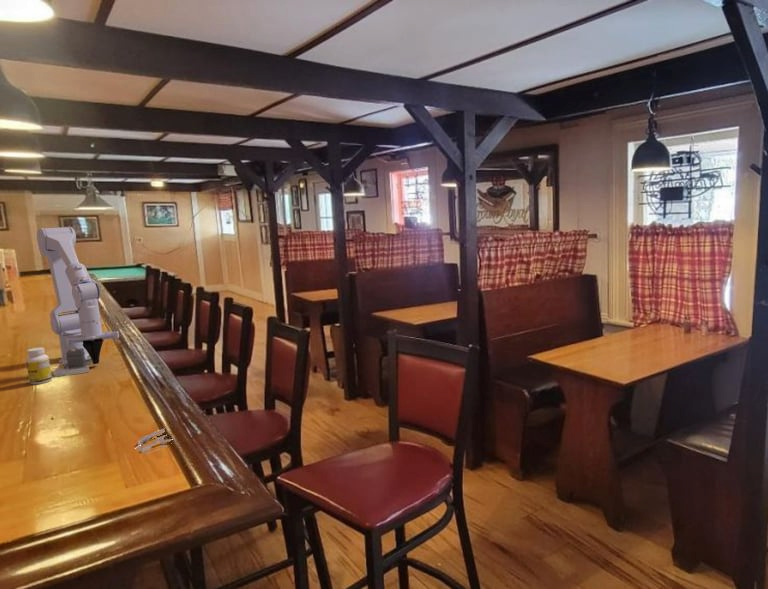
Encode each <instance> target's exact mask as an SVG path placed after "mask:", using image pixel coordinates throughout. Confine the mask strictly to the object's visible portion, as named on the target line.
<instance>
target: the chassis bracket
mask: <svg viewBox="0 0 768 589" xmlns="http://www.w3.org/2000/svg"><path fill="white" fill-rule="evenodd" d="M85 362H86V364H87V365H86V366H82V367H75V368H68V362H67V361H63V362H60V364H59V365H58V366H57V368H55V370H54V371H53V377H54V378H57V377H59V378H60V377H65V376H71V375H72V376H73V375H78V374H87V373H90V371H89V370H90V365H94V364H93V361H92V359H91V357H87V358H85ZM86 372H87V373H86Z"/></svg>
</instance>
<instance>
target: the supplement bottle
mask: <svg viewBox="0 0 768 589" xmlns="http://www.w3.org/2000/svg"><path fill="white" fill-rule="evenodd" d="M45 351H46V350H45V348H44V347H41V346H40V347H33V348H30V349H27V355H28V356H29V357H27V358H26V360H25V361H26V368H27V374H28V380H29V383H30V385H42V384H47V383H49V382H51V381H52V380H53V377H52V370H51V364H50V357H49V355H47V354H45V353H46V352H45Z"/></svg>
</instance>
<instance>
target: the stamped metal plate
mask: <svg viewBox="0 0 768 589" xmlns="http://www.w3.org/2000/svg"><path fill="white" fill-rule="evenodd" d="M165 428H166V427H165ZM165 428H164V427H163V428H162V429H159V430H157V431H154V432H151V433H149V434H147V435H144V436H142V437H141V438H140V439H139V440H137V446H136V447H135V448H134V449H135V450H137V451H139V452H141V453H143V454H145V455H149V454H151V453H154V452H157V451H159V450H161V449H163V448H166V447H167V445H166V444H165V442H167V443H169V442H170V441H171V440H173V439H164V437H165V436H167V434H166V435H162V436H160V437H158V438H156V439H154V442H153V443H150V444H147V443H149V442H150V441H152V440H151V439H152V438H153V437H154V436H157V435H159V434H162V433H164V432H165V430H164V429H165ZM159 440H160V441H159ZM157 444H160V448H157V449H155V450H153V451H150V452H147V451H149V450H151V449H152V446H155V445H157ZM144 445H145V446H144Z"/></svg>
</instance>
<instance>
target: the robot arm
mask: <svg viewBox="0 0 768 589" xmlns="http://www.w3.org/2000/svg"><path fill="white" fill-rule="evenodd" d="M36 240H37V241H36V242H37V245H38V251H39V252H40V255H43V256H44V257H46V260H47V262H48V266H49V271H50V274H51V279H52V284H53V288H54V294H55V297H56V301H57V302H56V303H57V305H56V306H55V307H54V308H53V309H52V310H51V311H50V313H49V316H50V322H49V323H50V327H51V328H50V329H51V331H52V332H53V333H54V334H55V335H58V339H59V344H60V345H59V346H60V351H61V352H60V353H61V358H60V359H59V361H58V363H62V362H63V361H67V360H66V358H67V355H66V353H67V351H68V350H71V349H72V348H77V349H81V348H83V349H84V352H85V354H84V355H85V358H91V359H92V361H93V364H92V365H96V364H97V365H99V363H100V354H101V349H102V347H103V343H104V341H105V340H110V339H111V340H112V339H119V338H120V335H119V330H118V331H103V327H102V319H101V313H100V307H99V299H100V298H101V289H100V286H99V283H98V282H97V281H96V280H94V279H93V278H91V276H90V274H89V272H88V270H87V268H86V266H85V265H84V263H80V261H79V259H78V256H77V252H76V249H75V246H76V242H77V234H76V231H75V229H74V228H73V227H71V226H67V227H66V226H63V227H61V226H60V227H48V228H47V227H45V228H43V227H39V228H38V229H37V231H36ZM89 356H90V357H89Z"/></svg>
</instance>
